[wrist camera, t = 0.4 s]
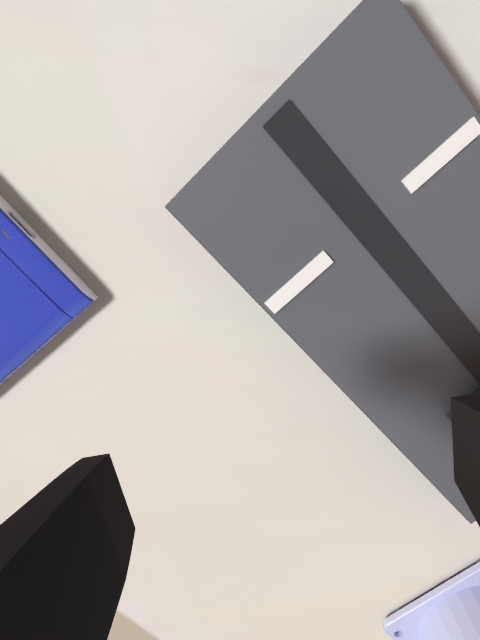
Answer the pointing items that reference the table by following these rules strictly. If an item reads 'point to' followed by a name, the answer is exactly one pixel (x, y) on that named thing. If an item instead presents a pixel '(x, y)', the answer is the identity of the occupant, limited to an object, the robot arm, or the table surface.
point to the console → (362, 226)
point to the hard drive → (32, 292)
